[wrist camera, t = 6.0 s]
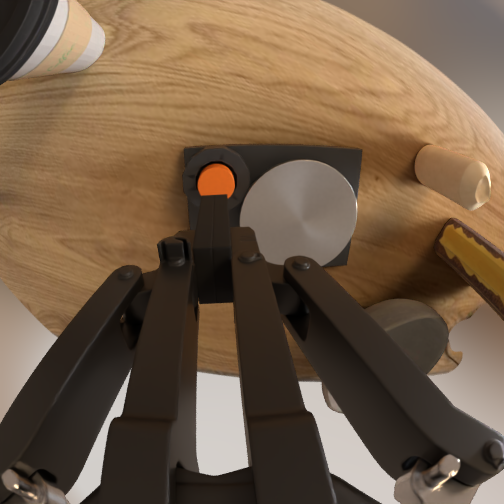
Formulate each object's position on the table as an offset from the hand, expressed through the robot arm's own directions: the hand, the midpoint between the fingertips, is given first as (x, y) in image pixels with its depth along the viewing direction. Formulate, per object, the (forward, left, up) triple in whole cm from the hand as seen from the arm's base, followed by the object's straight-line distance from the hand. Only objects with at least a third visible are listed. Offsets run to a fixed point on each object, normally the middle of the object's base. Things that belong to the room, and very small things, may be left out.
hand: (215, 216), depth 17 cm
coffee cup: (+14, -16, -12) cm, 24 cm away
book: (-41, +12, -12) cm, 44 cm away
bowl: (-22, +24, -12) cm, 35 cm away
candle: (-26, -2, -12) cm, 29 cm away
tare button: (0, 0, -10) cm, 10 cm away
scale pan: (-8, +4, -9) cm, 13 cm away
